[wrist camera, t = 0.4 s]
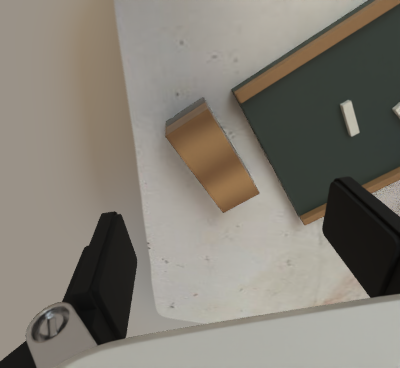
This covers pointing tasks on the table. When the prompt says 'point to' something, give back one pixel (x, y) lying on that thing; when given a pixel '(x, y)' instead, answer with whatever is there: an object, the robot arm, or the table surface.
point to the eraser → (210, 155)
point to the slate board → (331, 107)
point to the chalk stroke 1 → (349, 118)
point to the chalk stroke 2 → (397, 109)
